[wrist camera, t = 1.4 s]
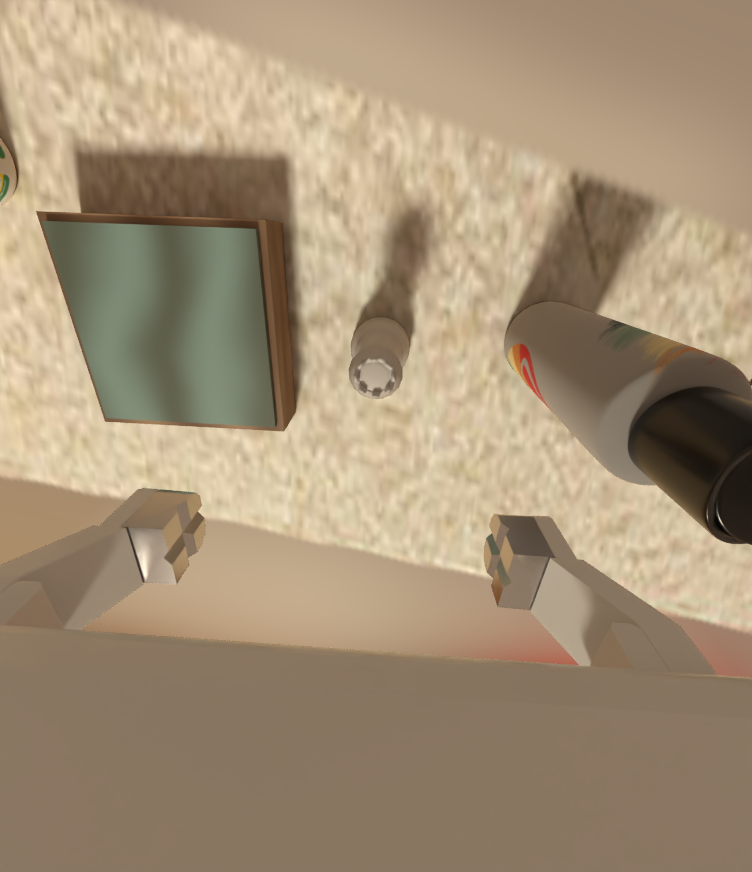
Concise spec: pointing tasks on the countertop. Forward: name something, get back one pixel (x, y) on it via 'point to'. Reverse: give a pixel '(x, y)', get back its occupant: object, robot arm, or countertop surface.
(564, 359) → the lotion bottle
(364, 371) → the rook chess piece
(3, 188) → the supplement bottle
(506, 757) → the robot arm
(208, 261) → the walnut plinth
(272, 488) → the countertop surface
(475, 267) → the countertop surface
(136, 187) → the countertop surface
